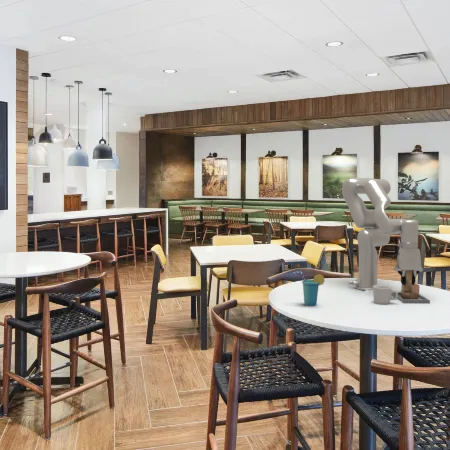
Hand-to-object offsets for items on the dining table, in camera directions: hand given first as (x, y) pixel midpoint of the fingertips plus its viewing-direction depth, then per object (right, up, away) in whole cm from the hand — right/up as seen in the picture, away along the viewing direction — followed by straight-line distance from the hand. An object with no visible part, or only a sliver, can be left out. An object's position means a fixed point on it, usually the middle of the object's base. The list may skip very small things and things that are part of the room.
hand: (408, 284), depth 220 cm
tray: (0, -7, -2) cm, 8 cm away
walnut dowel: (0, -4, -1) cm, 4 cm away
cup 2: (-14, -8, -10) cm, 19 cm away
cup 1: (-49, -8, -11) cm, 51 cm away
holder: (+5, -7, +10) cm, 13 cm away
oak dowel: (0, -4, +1) cm, 4 cm away
